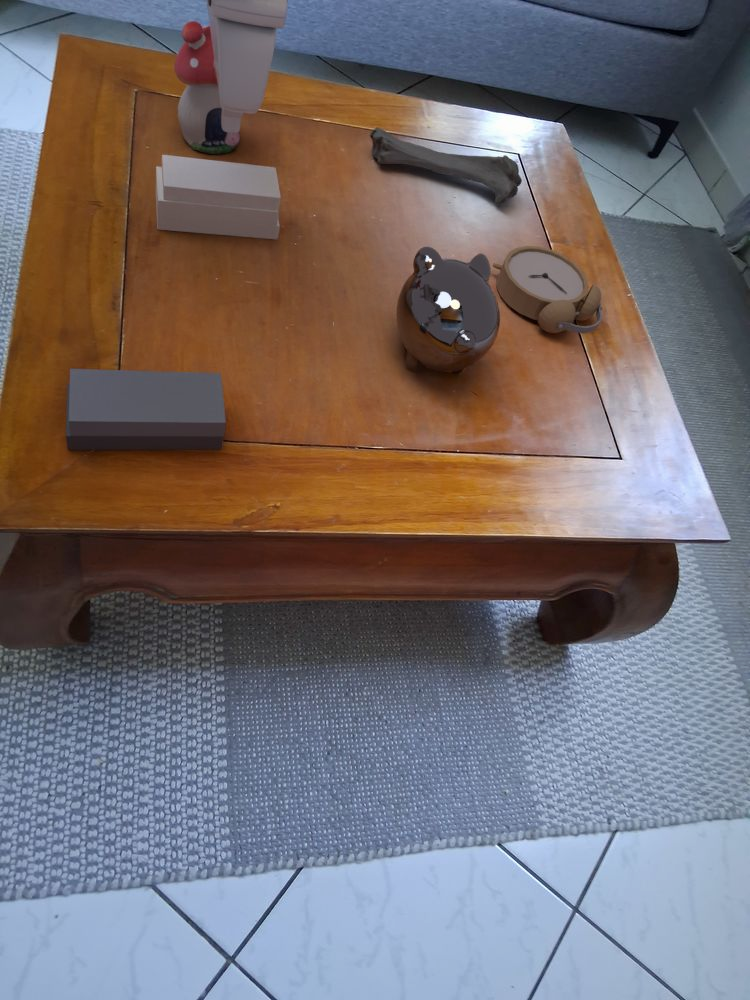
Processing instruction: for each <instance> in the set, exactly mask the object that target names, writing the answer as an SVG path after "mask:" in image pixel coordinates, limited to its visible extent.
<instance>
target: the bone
mask: <svg viewBox="0 0 750 1000" xmlns="http://www.w3.org/2000/svg"><path fill="white" fill-rule="evenodd" d="M369 137H370V139H371V140H372V147H371V154H372V155H371V156H372V157H373V158H375V159H377V163H378V164H382V165H409V166H414V167H420V168H422V169H423V168H424V169H427V170H430V171H432V172H435V173H438V174H442V175H446V176H451V177H454V178H457V179H462V180H466V181H471V182H474V183H479V184H483V185H484V186H486V187H488V189H490V190H492V192H493V193H494V195H495V196H494V197H495V205H496V206H497V207H501V206H503V205H504V204H505V203H506V202H507V200H508V199H510V198H514V197H515V196H517V194H518V192H519V188H518V187H519V186H521V185H522V181H523V180H522V178H521V176H520V169H519V165H518V163H517V161H515V160H514V159H512V158H510V157H509V156H508V155H506V154H504V155H503V156H499V155H498V156H491V155H467V154H455V153H448V152H447V153H446V152H441V151H437V150H435V149H431V148H429V147H425V146H422V145H419V144H416V143H412V142H409V141H404V140H402V139H399V138H398V137H395V136H394V135H393V134H391V133H388V132H387V131H386V130H385V129H383V128H381V127H378V126H377V127H375V128H374V129H373V130H372V131H371V132H370V133H369Z"/></svg>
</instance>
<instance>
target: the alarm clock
mask: <svg viewBox="0 0 750 1000" xmlns="http://www.w3.org/2000/svg"><path fill="white" fill-rule="evenodd" d="M492 267H493V268H495V269H497V270H500V272H499V273H498V275H497V278H496V288H497V291H498V293H499V296H500V297H501V299H502V300H503V301H504V302H505V303H506V304H507V306H509V308H512V309H513V311H515V312H517V313H518V314H520V315H522V316H525V317H527V318H529V319H531V320H535V321H537V324H538V325H539V327H540V328H541V329H542V330H543V331H544V332H546V333H549V334H550V333H551V334H558V333H561V332H564V331H565V330H567V331H569V332H572V333H576V334H588V333H592V332H594V331H595V330H597V328H598V327H599V326H600V324H601V322H602V319H603V315H602V310H603V306H601V305H602V303H601V300H602V292H601V289H600V288H599V287H598V286H597V285H596V284H592V285H591V287H590V289H589V280H588V278H587V276H586V274H585V273H584V271H583V269H582V268H580V266H578V264H577V263H576V262H575V261H573V260H572V259H570V258H569V257H567V256H566V255H564V254H562V253H560V252H558V251H555V250H553V249H550V248H546V247H542V246H536V245H535V246H534V245H531V246H530V245H525V246H519V247H516V248H514V249H513V250H511V251H508V253H507V254H506V256H505V258H504V261H503V264H501V263H493V264H492ZM594 315H595V317H596V322H595V323H594V324H590V325H585V326H584V325H577V324H573V323H574V321H575V320H577V321H583V322H584V321H587V320H588V319H590V318H592V317H593V316H594Z"/></svg>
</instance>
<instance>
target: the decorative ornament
mask: <svg viewBox="0 0 750 1000" xmlns="http://www.w3.org/2000/svg"><path fill="white" fill-rule="evenodd" d="M181 37H182V40H183V41H184V43H183V44H182V45H181V47H180V49H179V51H178V52H177V54H176V58H175V62H174V68H173V69H174V74H175V76H176V78H177V79H178V80H179V81H180V82H181V83H183V84H185V85H186V87H185V88H184V90H183V92H182V94H181V96H180V98H179V102H178V106H177V118H178V123H179V126H180V129H181V134H182V136H183V140H185V142H186V143H187V144H188V145H189V146H190V147H191V149H192V150H193V151H198V152H201V153H206V154H209V155H220V154H221V155H222V154H228V153H231V152H232V151H233V150H235V149H236V148H237V146H238V145H239V142H240V139H241V135H240V134H241V133H240V131H239V132H237V133H231V132H225V131H223V129H222V125H221V113H222V107H221V105H220V99H219V90H218V83H217V77H216V75H215V72H214V53H213V46H212V38H211V31H210V25H205V26H202V25H201V23H199V22H198V21H195V20H193V21H191V20H190V21H188V22H186V23H185V24H184V25H183V27H182V30H181Z"/></svg>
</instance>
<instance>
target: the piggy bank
mask: <svg viewBox="0 0 750 1000" xmlns="http://www.w3.org/2000/svg"><path fill="white" fill-rule="evenodd" d="M412 262H413V263H412V267H413V272H412V273H411V274H410V275H409V277H407V279H406V280H405V282H404V283H403V286H402V287H401V290H400V292H399V294H398V299H397V301H396V302H397V303H396V313H395V314H396V315H395V316H396V325H397V330H398V333H399V336H400V337H399V338H400V339H401V341H402V344H403V346H404V348H405V349H406V350H407V352H406V356H405V359H404V360H405V362H404V363H405V367H406V368H407V369H408V370H410V371H412V372H415V371H419V370H420V369H421V368H422V367H423V366H424V367H426V368H428V369H430V370H433V371H437V372H443V373H452V374H454V375H460V374H462V373H463V372H464V370H465V369H467V368H469V367H471V366H473V365H475V364H476V363H478V362H479V361H480V360H482V359H483V358H484V357H485V356H486V355H487V354H488V353H489V351H490V350H491V349H492V347H493V345H494V344H495V342H496V340H497V337H498V334H499V331H500V326H501V314H500V313H501V312H500V308H499V303H498V300H497V296H496V295H495V292H494V290H493V288H492V286H491V285H490V278H491V276H492V275H491V274H492V269H491V264H490V260H489V258H488V257H487V256H486V254H484V253H482V252H480V253H477V254H476V255H475V256H474V257H473V258H472V259H470V261H469V262H466V261H463V260H459V259H455V258H442V256H441V254H440V253H439V252H438V251H437V250H436V249H434V248H433V247H431V246H423V247H421V248H419V249H418V250H417V251H416V253H415V255H414V257H413V261H412Z"/></svg>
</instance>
